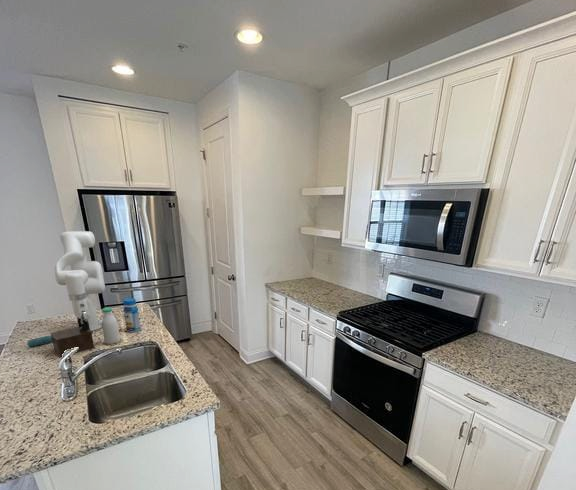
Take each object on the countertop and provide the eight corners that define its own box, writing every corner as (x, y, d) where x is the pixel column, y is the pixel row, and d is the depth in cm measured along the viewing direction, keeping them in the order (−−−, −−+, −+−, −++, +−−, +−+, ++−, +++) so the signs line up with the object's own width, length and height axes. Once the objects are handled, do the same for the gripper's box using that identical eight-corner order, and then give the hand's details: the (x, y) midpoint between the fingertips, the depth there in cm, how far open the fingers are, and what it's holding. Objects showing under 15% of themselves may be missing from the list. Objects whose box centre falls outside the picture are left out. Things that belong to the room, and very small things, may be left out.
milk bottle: (122, 341, 178) (117, 308, 171) (107, 345, 172) (101, 311, 166) (117, 337, 183) (111, 305, 176) (103, 341, 177) (96, 308, 171)
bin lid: (85, 326, 174) (83, 318, 173) (93, 332, 167) (91, 323, 165) (50, 334, 163) (47, 325, 161) (56, 341, 155) (54, 331, 153)
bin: (86, 341, 177) (83, 327, 174) (94, 348, 169) (91, 333, 166) (54, 349, 166) (50, 334, 163) (60, 357, 158) (56, 341, 155)
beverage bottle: (142, 330, 194) (138, 300, 187) (127, 333, 190) (122, 302, 183) (139, 326, 201) (135, 296, 194) (125, 328, 196) (120, 298, 189)
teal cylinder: (51, 340, 177) (50, 334, 175) (53, 342, 174) (52, 336, 173) (27, 346, 169) (25, 339, 167) (29, 348, 166) (27, 341, 165)
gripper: (91, 298, 160) (97, 331, 166) (80, 292, 170) (86, 322, 176) (74, 301, 154) (81, 334, 160) (64, 294, 165) (71, 326, 171)
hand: (84, 328), depth 168 cm, fingers closed on bin lid, 6 cm apart
